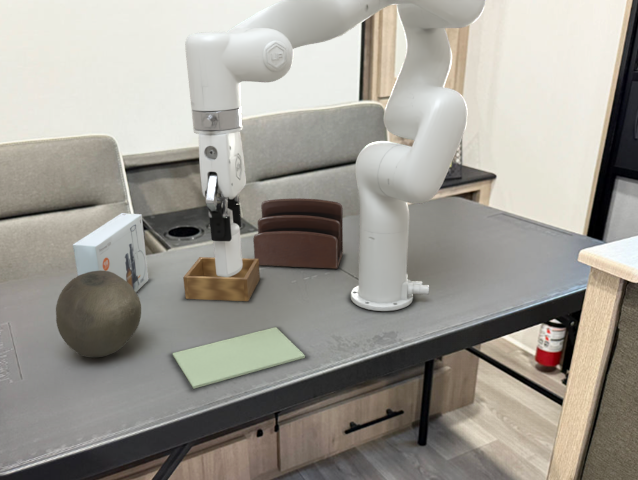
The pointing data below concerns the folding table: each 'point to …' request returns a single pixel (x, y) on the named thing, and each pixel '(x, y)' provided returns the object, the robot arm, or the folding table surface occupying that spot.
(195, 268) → the wooden box
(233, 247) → the eye dropper bottle
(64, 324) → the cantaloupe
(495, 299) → the folding table surface
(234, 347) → the mat
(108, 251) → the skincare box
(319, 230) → the letter holder
